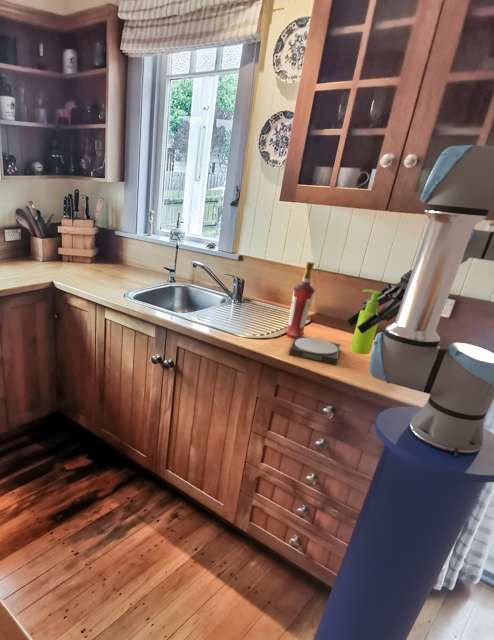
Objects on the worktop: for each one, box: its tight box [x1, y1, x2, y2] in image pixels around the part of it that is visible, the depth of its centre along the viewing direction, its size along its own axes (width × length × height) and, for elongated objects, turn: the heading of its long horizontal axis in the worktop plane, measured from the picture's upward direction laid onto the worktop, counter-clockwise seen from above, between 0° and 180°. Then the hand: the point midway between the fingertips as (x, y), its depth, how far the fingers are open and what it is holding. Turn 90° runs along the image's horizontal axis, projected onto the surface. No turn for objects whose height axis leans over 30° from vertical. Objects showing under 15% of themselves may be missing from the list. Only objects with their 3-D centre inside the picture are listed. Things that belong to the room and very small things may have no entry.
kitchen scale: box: [288, 335, 341, 365], centre depth 163 cm, size 15×15×3 cm
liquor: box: [284, 261, 316, 339], centre depth 172 cm, size 7×7×28 cm
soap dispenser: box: [349, 288, 382, 355], centre depth 148 cm, size 6×7×20 cm
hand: (354, 326), depth 148 cm, fingers closed on soap dispenser, 6 cm apart
